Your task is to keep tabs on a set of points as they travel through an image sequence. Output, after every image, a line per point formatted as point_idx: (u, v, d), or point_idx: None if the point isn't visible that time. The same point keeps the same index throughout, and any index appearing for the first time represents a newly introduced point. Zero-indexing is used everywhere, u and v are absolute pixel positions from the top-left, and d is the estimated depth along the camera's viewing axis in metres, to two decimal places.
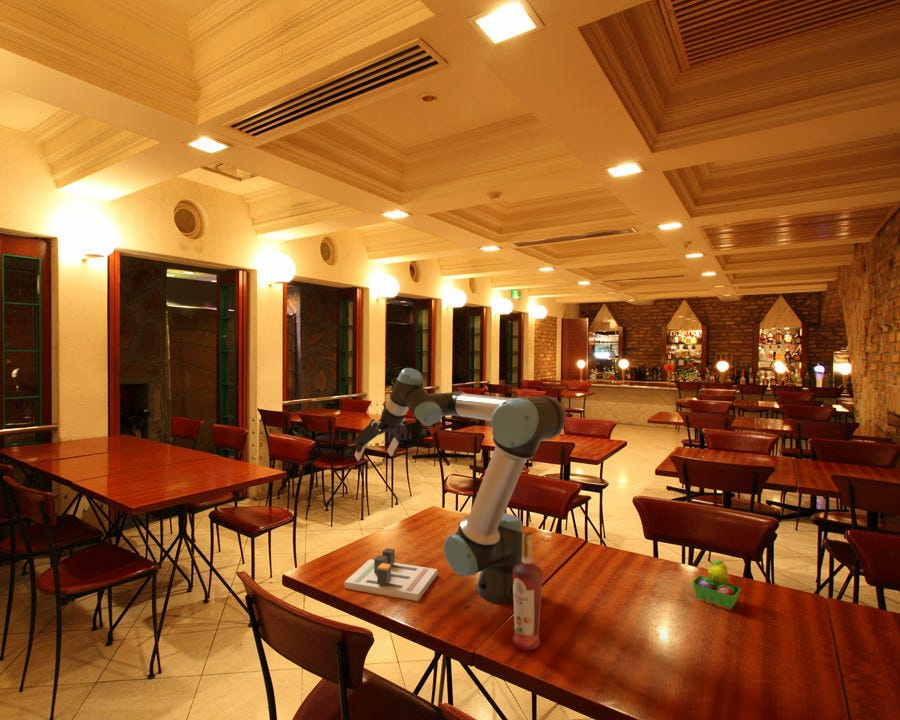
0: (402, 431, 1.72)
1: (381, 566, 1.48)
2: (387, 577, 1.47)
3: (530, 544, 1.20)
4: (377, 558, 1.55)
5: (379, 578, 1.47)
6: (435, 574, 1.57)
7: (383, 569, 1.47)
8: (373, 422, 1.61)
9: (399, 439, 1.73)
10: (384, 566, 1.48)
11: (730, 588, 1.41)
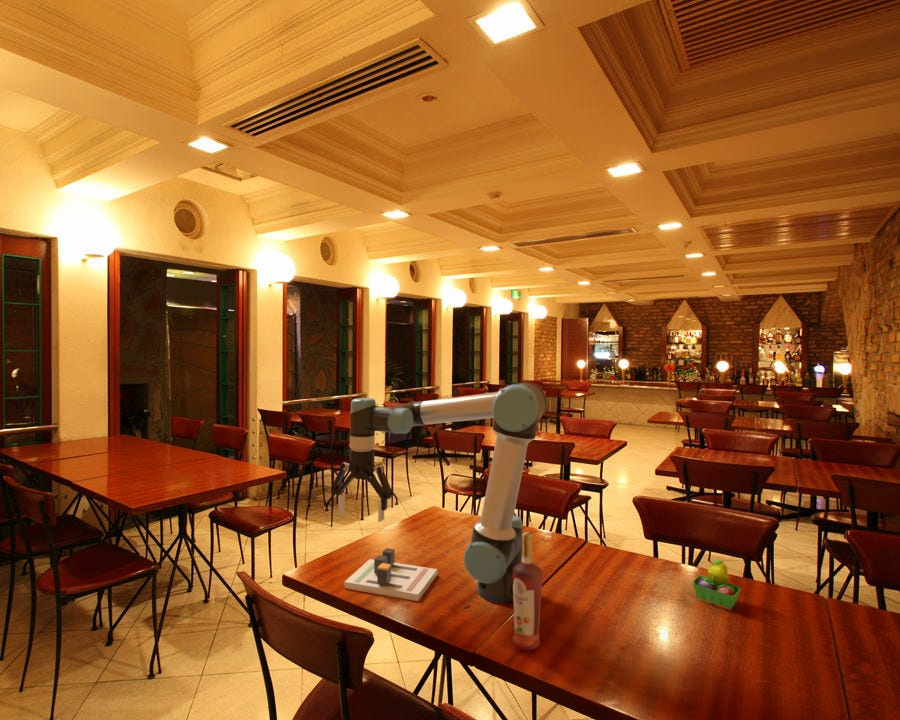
0: None
1: (381, 566, 1.48)
2: (387, 577, 1.47)
3: (530, 544, 1.20)
4: (377, 558, 1.55)
5: (379, 578, 1.47)
6: (435, 574, 1.57)
7: (383, 569, 1.47)
8: None
9: (380, 495, 1.47)
10: (384, 566, 1.48)
11: (730, 588, 1.41)
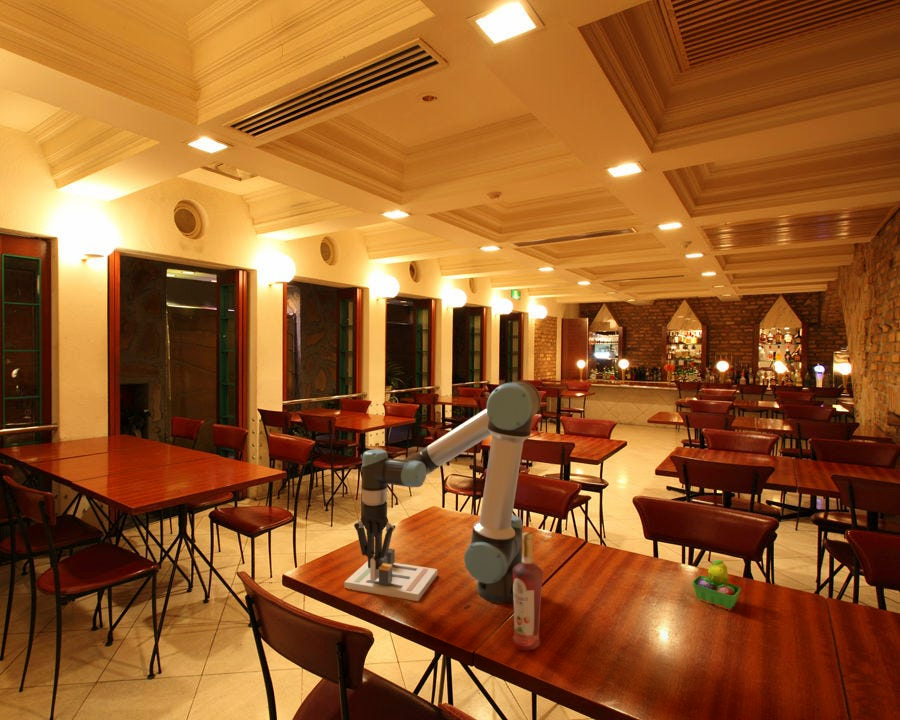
0: None
1: (382, 566, 1.47)
2: (389, 577, 1.47)
3: (530, 544, 1.20)
4: None
5: (380, 578, 1.47)
6: (435, 574, 1.57)
7: (384, 569, 1.46)
8: None
9: (376, 553, 1.47)
10: (385, 566, 1.47)
11: (730, 588, 1.41)
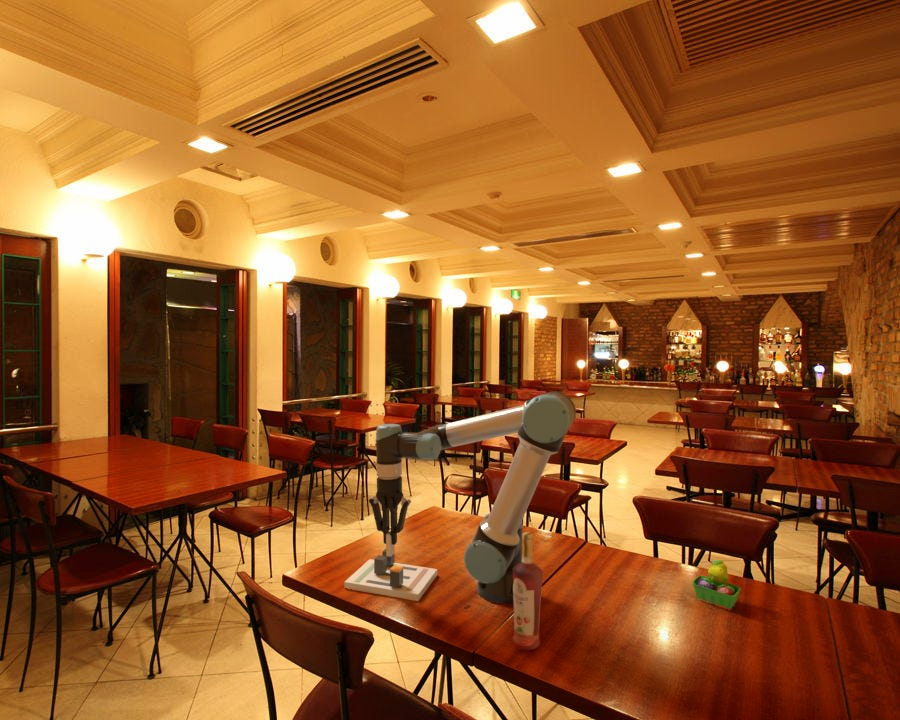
0: None
1: (393, 568, 1.46)
2: (400, 579, 1.46)
3: (530, 544, 1.20)
4: (377, 558, 1.55)
5: (392, 580, 1.46)
6: (435, 574, 1.57)
7: (396, 571, 1.45)
8: None
9: (392, 528, 1.46)
10: (396, 568, 1.46)
11: (730, 588, 1.41)
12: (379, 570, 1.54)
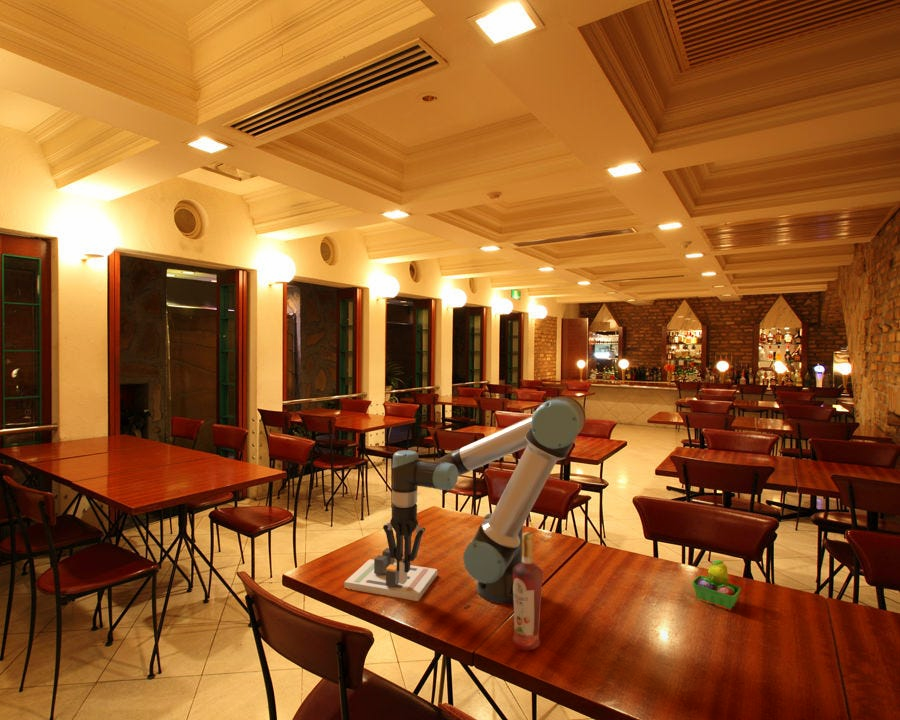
0: None
1: (389, 567, 1.47)
2: (396, 578, 1.46)
3: (530, 544, 1.20)
4: (377, 558, 1.55)
5: (388, 579, 1.46)
6: (435, 574, 1.57)
7: (392, 570, 1.46)
8: None
9: (405, 556, 1.45)
10: (393, 567, 1.47)
11: (730, 588, 1.41)
12: (379, 570, 1.54)
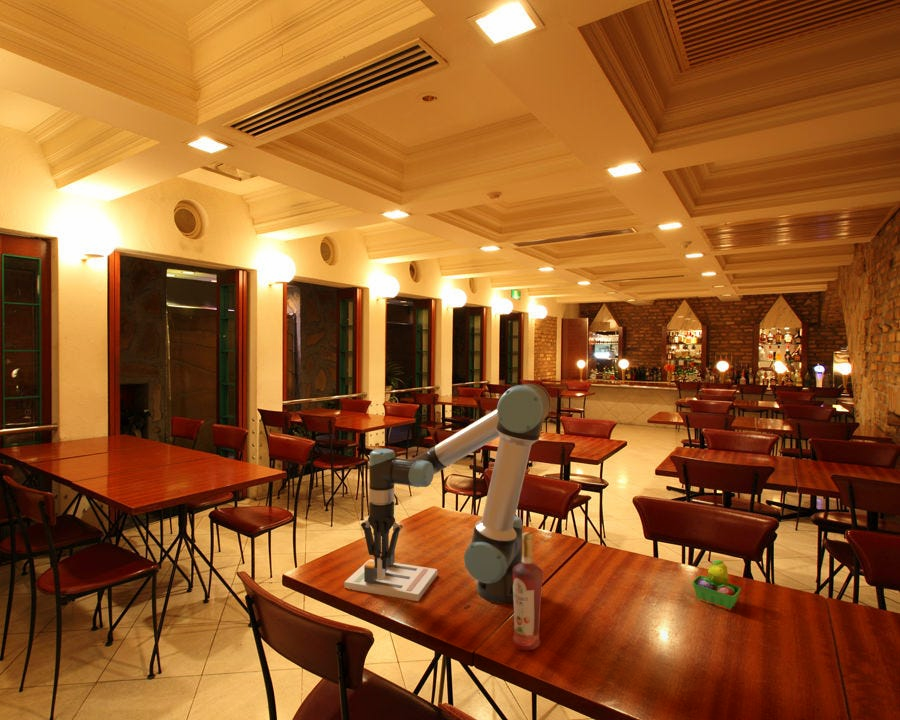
0: None
1: (368, 564, 1.49)
2: (374, 575, 1.48)
3: (530, 544, 1.20)
4: None
5: (366, 576, 1.48)
6: (435, 574, 1.57)
7: (370, 567, 1.48)
8: None
9: (383, 553, 1.47)
10: (371, 564, 1.49)
11: (730, 588, 1.41)
12: None
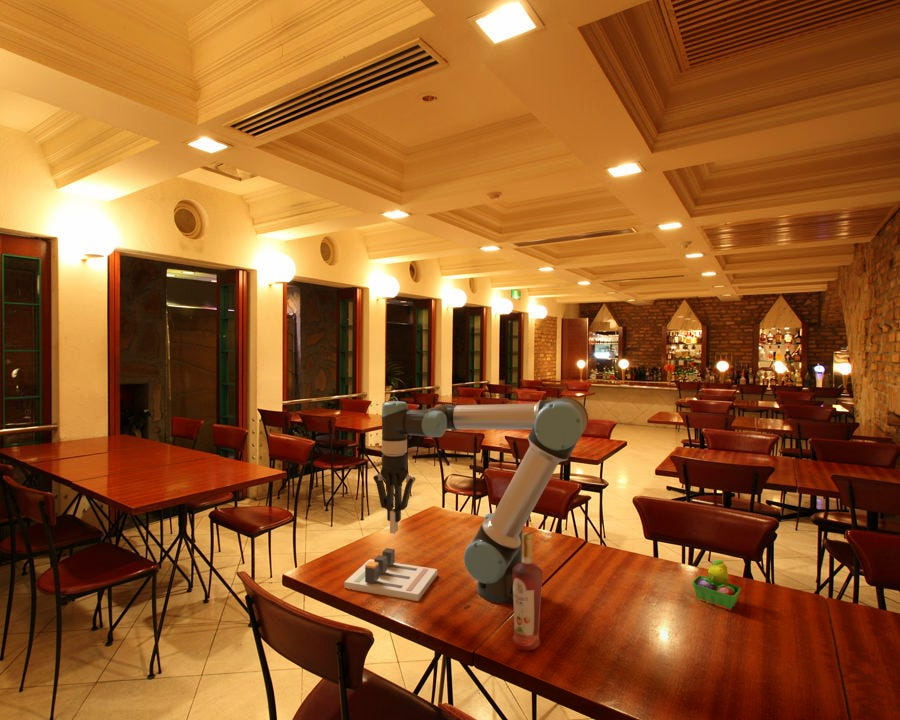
0: None
1: (369, 564, 1.49)
2: (375, 575, 1.48)
3: (530, 544, 1.20)
4: (377, 558, 1.55)
5: (367, 576, 1.48)
6: (435, 574, 1.57)
7: (371, 567, 1.48)
8: None
9: (396, 505, 1.45)
10: (372, 564, 1.49)
11: (730, 588, 1.41)
12: (379, 570, 1.54)
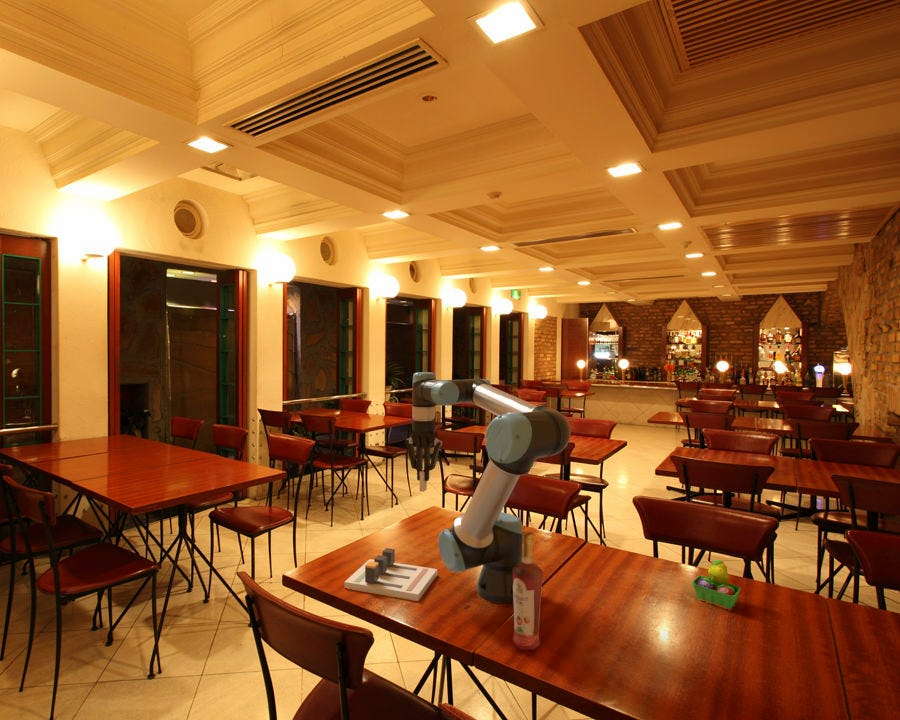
0: None
1: (369, 564, 1.49)
2: (375, 575, 1.48)
3: (530, 544, 1.20)
4: (377, 558, 1.55)
5: (367, 576, 1.48)
6: (435, 574, 1.57)
7: (371, 567, 1.48)
8: None
9: (425, 466, 1.60)
10: (372, 564, 1.49)
11: (730, 588, 1.41)
12: (379, 570, 1.54)
